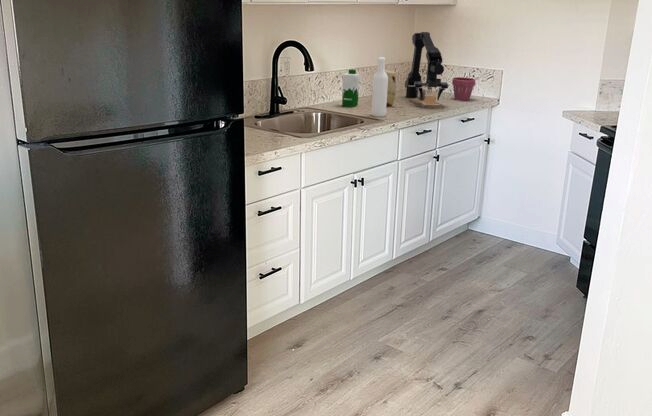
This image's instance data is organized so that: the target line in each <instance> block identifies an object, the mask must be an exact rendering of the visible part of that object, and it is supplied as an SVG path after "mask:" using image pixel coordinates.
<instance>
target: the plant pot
mask: <svg viewBox="0 0 652 416" xmlns="http://www.w3.org/2000/svg"><path fill="white" fill-rule="evenodd" d="M476 81H477V80H476V78H472V77H459V76H457V77H453V78H452V82H451V85H452V86H453V95H454V101H455V100H456V101H470V99H471V96H472V94H473V93H472V92H473V90H474V87H475V86H476Z"/></svg>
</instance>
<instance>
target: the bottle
mask: <svg viewBox="0 0 652 416" xmlns="http://www.w3.org/2000/svg"><path fill="white" fill-rule="evenodd" d="M385 67H386V58H385V57H383V56H379V57H378V59H377V71H376V72H375V73H374V74H373V78H372V91H371V92H372V94H371V95H372V96H371V109H370V110H371V112H370V113H371V116H373V117H377V118H379V117H380V118H381V117H387V116H386V115H387V106H386V105H387V88H388V76H387V74H386V73H385V72H384V71H386V68H385Z"/></svg>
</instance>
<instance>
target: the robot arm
mask: <svg viewBox="0 0 652 416" xmlns="http://www.w3.org/2000/svg"><path fill="white" fill-rule="evenodd" d="M411 40H412V45H413V47H414V48H413V54H412V56H413V57H412V63H411V64H412V65H411V70H410V72H409V73H408V74H407V77H406V80H405V82H404V88H406V91H405V92H406V93H405V96H404V98H408V99H410V98H419V95H420V96H421V100H422V98H423V95H422V90H423V87H428V88H438V92H437V96H436V101H439V100H440V98H441V95H442V93H443V91H445V90H446V89H448V88H449V84H448V83H447V82H446V81H445V82H444V81H442V79H441V78H438V76H440V75H443V74H444V71H445V68H444V65H443V56H442V53H441V51H440V50H439V49H438V47H436V46H435V45H434V42H433V40H432V37H431V33H430V32H428V31H421V32H415V33H414V34H412V36H411ZM424 48H425V50H426V52H425V58H426V60H427V61H426V64H427V69H426V70H427V71H426V80H425V81H426V82H422V75H421V74H420V67H421V61H422V60H421V59H422V54H423V53H422V52H423V49H424Z"/></svg>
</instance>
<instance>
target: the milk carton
mask: <svg viewBox="0 0 652 416" xmlns="http://www.w3.org/2000/svg"><path fill="white" fill-rule="evenodd" d="M341 90H342V93H341V95H342V98H341V100H342V101H341V102H342V103H341V105H342V106H341V107H347V108H355V107H357V106H358V104H359V103H358V102H359V90H360V73H357V70H356V69H348V72H346V73H344V74H342V89H341Z"/></svg>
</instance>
